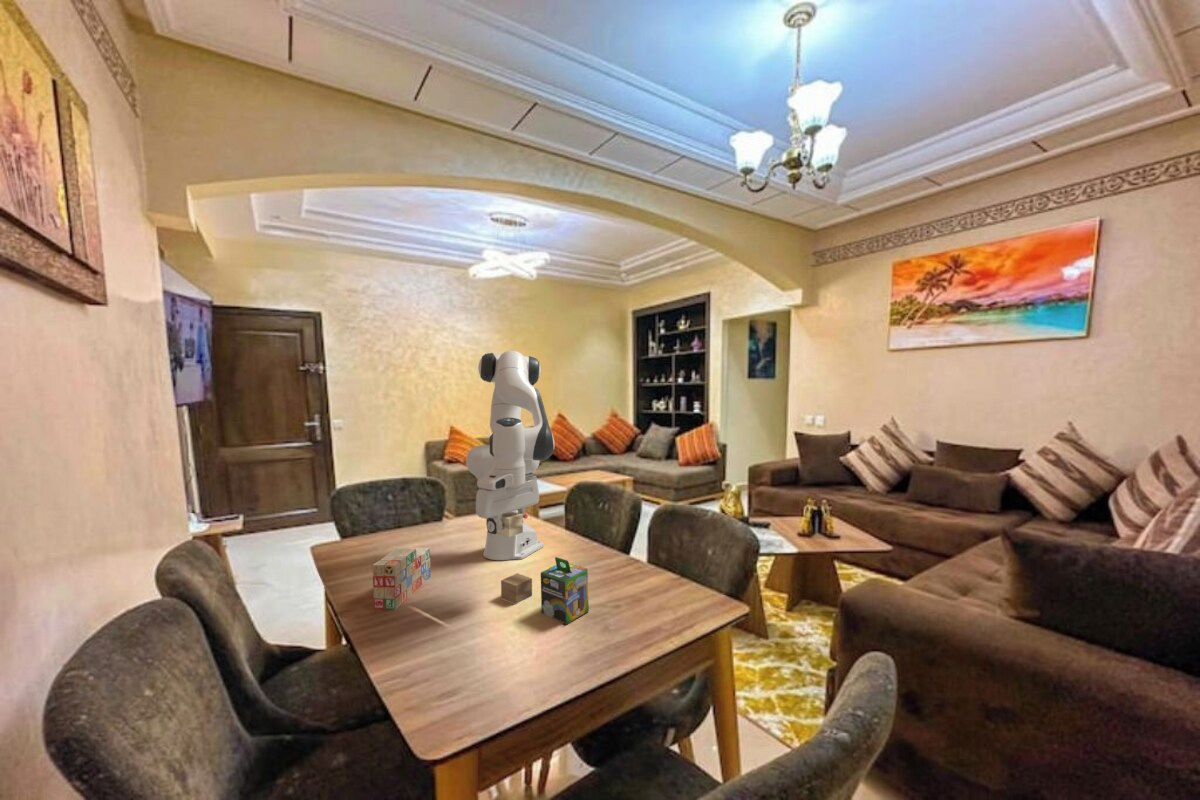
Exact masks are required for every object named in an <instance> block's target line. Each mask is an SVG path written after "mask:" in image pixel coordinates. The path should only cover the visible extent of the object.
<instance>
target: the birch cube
mask: <svg viewBox="0 0 1200 800" xmlns="http://www.w3.org/2000/svg"><path fill="white" fill-rule="evenodd" d="M500 519H501V521H502V523H505V526H504V527H505V529H503V530H500V531H499V530H497V534H500V535H503V536H507V537H511V536H514V535H517V534H519V533H522V532H523V522H524V518H523V515H522V514H518V513H514V512H508V513H504V514H502V518H500Z"/></svg>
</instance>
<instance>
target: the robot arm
mask: <svg viewBox="0 0 1200 800" xmlns="http://www.w3.org/2000/svg"><path fill="white" fill-rule="evenodd" d="M477 367H478V368H477V370H478V374H479V376H480V377H479V378H480V379H481V380H482V381H484V382H487V383H494V389H493V393H492V398H491V405H490V407H491V408H490V415H489V416H490V418H489V420H490V421H489V427H490V430H491V431H492V434H491V435H490V436H489V444H483V445H476V446H473V447H472V448H471V449H469V451H468V453H467V454H466V459H465V464H466V468H467V470H468V471H469V472H470V474H472V475H474V476H475V477H476V478H477V482H476V485H477V488H479V489H478V490H477V492H476V496H475V497H476V498H475V514H476V515H477V516H478V518H482V519H485V520H486V539H485V546H484V550H483V553H482V555H483V557H484V558H485V559H488V560H493V561H507V560H508V561H509V560H523V559H525V558H526V557H529V555H531V554H533V553H535V552H537V551H538V550H540V549H541V548H544V543H543V542H542V541H541V540H539V539H538V535H537V531H536V530H535V528H533V527H532V526H531V525H529V524H527V523H526V522H525V521H523V532H522V533H519V534H517V535H514V536H511V537H507V536H503V535H500V534H497V530H499V531H500V530H503V529H505V527H504V526H505V523H502V521H501V519H500V518H502V514H504V513H508V512H514V513H518V514H522V515H523V519H528V517H529V514H528V512H526V511H527V510H526V508H527V507H531V506H534V505H537V504H538V503H539V501H540V491H539V490H540V489H539V484H538V477H537V475H536V474H535V472H536V471H537V469H538V468H539V465H540V462H545V461H546V460H548V459H549V458H550V457H551V456H552V455H553V454H554V451H555V443H556V442H555V438H554V434H553V432H552V429H551V427H550V424H549V421H548V416H547V413H546V410H545V405H544V402H543V398H542V396H541V392H540V391H539V389H538V388H536V387H534V385H536V384H537V382H538V381H539V379H540V376H541V373H542V370H541V364H540V361H539V360H538V358H536V357H533V356H529V355H528V356H526V355H523V354H522V353H521V352H519V351H517V350H507V351H504V352H503V353H493V352H487V353H485V354H483V355H481V358H480V360H479V362H478V366H477ZM522 409H525V410H526V411H528V412H530V413H531V415H532V420H533V424H534V426H530V427H524V423H523V421H522Z"/></svg>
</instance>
